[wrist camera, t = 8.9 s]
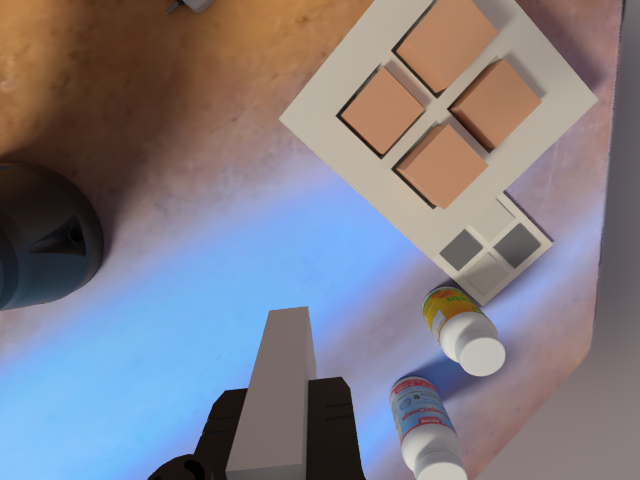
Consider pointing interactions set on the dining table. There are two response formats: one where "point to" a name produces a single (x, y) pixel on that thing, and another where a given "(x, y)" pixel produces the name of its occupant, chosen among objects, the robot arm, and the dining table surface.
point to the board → (433, 114)
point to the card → (492, 250)
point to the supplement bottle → (463, 331)
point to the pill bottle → (425, 431)
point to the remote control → (192, 5)
